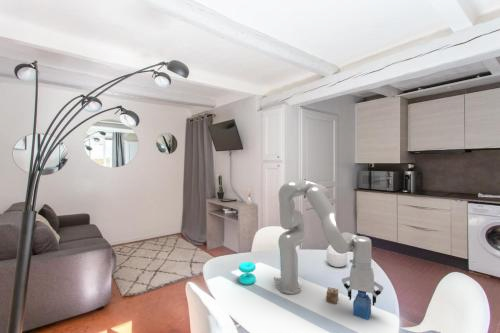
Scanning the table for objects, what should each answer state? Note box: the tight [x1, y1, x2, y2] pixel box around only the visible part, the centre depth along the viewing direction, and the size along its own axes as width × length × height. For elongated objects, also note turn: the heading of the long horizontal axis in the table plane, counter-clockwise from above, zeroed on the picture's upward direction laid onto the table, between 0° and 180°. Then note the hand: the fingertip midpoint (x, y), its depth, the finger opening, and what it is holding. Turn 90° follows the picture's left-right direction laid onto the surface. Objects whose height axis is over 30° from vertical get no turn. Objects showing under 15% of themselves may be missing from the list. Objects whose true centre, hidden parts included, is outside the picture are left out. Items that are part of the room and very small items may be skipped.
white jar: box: [326, 244, 348, 268], centre depth 165 cm, size 13×13×14 cm
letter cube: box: [326, 286, 339, 305], centre depth 124 cm, size 5×5×5 cm
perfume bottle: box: [352, 290, 372, 321], centre depth 113 cm, size 6×6×12 cm
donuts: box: [238, 261, 257, 286], centre depth 145 cm, size 10×10×10 cm
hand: (361, 301), depth 113 cm, fingers open, 9 cm apart
